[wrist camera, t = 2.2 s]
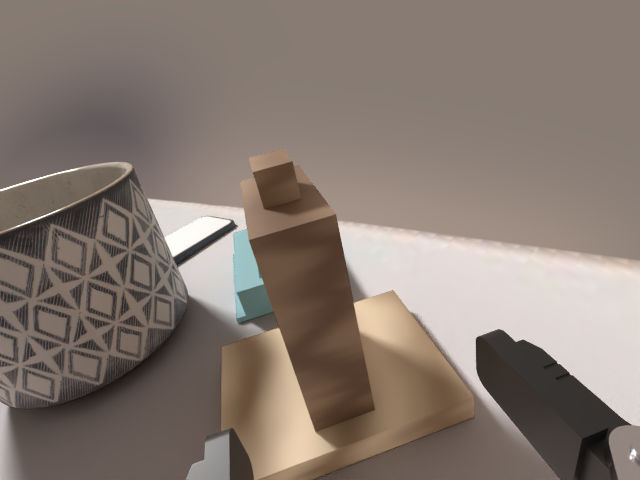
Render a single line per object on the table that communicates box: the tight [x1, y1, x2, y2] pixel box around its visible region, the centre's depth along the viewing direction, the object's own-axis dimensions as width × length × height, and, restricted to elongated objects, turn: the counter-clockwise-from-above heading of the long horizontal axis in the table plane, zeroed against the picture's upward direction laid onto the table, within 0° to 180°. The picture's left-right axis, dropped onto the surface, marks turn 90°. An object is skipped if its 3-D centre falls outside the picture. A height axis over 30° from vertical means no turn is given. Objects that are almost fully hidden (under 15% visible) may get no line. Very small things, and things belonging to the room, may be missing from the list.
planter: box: [0, 162, 188, 409], centre depth 34 cm, size 19×19×16 cm
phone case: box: [164, 216, 235, 265], centre depth 55 cm, size 9×2×16 cm
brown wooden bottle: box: [240, 149, 375, 432], centre depth 22 cm, size 4×9×16 cm, turn 14°
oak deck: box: [221, 290, 474, 480], centre depth 27 cm, size 16×12×2 cm
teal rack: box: [233, 229, 273, 323], centre depth 42 cm, size 12×14×4 cm
